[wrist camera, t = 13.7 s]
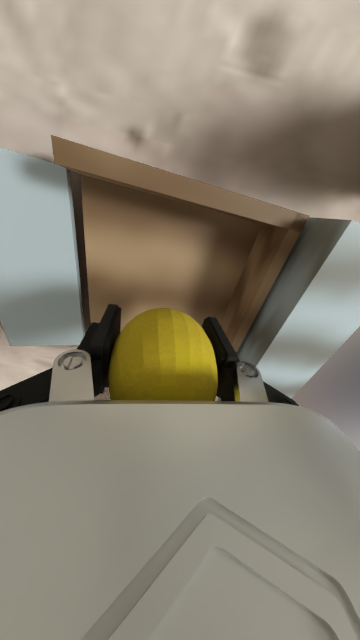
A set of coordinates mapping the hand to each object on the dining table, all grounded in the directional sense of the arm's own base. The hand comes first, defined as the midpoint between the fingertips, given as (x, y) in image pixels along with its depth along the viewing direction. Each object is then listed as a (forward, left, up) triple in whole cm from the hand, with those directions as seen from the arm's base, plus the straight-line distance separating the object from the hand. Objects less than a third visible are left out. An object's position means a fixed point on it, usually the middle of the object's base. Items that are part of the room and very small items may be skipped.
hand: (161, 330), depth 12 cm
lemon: (0, 0, -1) cm, 1 cm away
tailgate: (0, -7, -6) cm, 10 cm away
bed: (0, +4, -9) cm, 10 cm away
